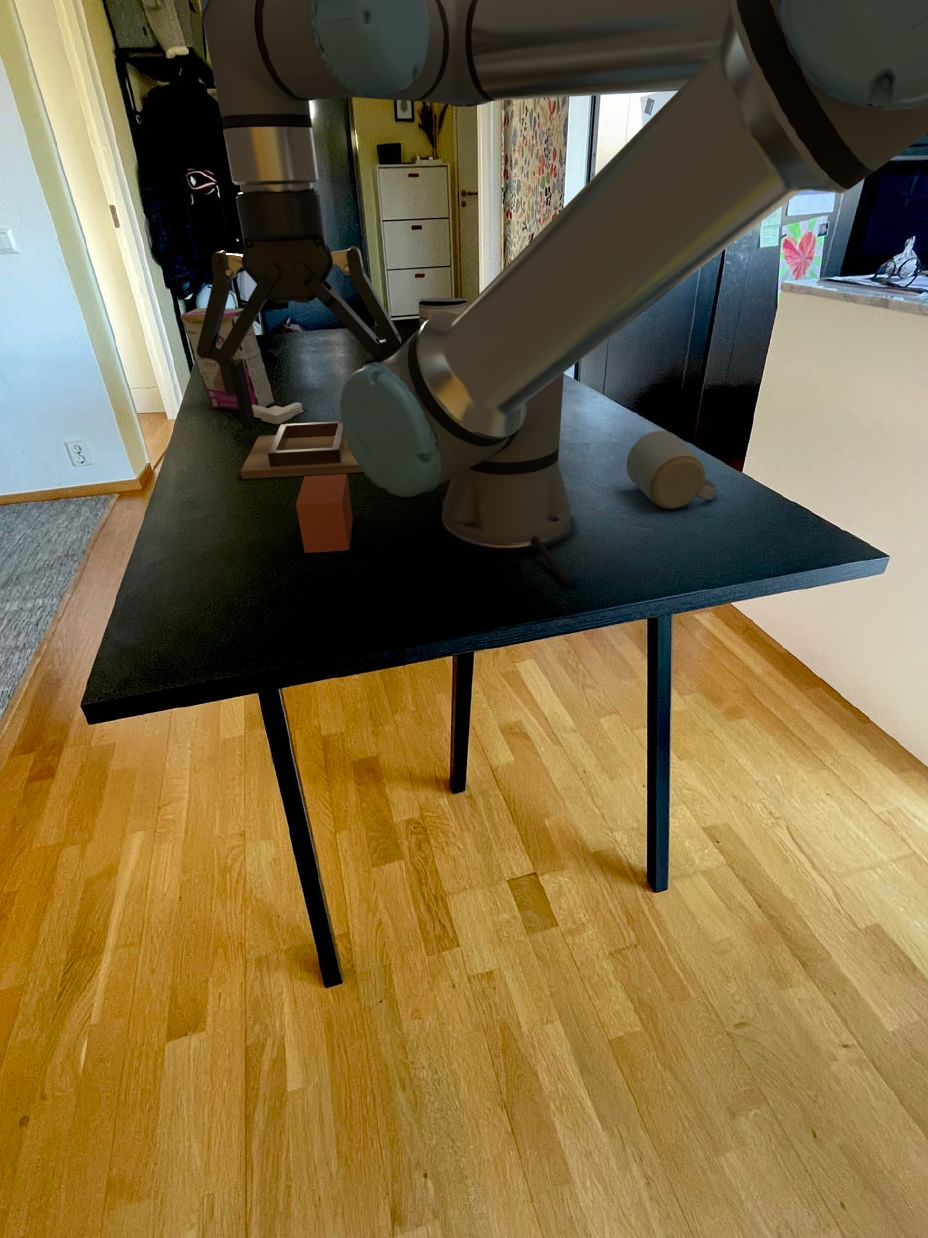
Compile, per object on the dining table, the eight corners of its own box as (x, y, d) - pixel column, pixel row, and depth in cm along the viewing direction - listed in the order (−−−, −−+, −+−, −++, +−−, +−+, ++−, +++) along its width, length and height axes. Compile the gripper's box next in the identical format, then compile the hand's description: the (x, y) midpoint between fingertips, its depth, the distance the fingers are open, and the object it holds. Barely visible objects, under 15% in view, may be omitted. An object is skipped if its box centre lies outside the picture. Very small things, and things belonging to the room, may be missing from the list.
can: (410, 355, 153) (406, 298, 147) (439, 345, 161) (437, 291, 154) (450, 361, 148) (448, 302, 141) (478, 350, 155) (477, 294, 149)
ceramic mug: (647, 515, 80) (657, 454, 76) (622, 489, 87) (629, 431, 83) (728, 507, 82) (742, 447, 78) (697, 482, 89) (708, 425, 84)
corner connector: (274, 403, 123) (273, 394, 122) (308, 412, 120) (307, 403, 119) (243, 415, 117) (241, 406, 116) (278, 424, 114) (277, 415, 113)
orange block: (349, 550, 75) (342, 501, 72) (304, 553, 75) (295, 504, 72) (353, 519, 82) (346, 473, 78) (312, 522, 82) (304, 476, 78)
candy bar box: (210, 409, 122) (178, 315, 112) (227, 399, 126) (197, 307, 115) (260, 412, 118) (231, 315, 108) (276, 402, 122) (249, 306, 112)
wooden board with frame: (369, 472, 95) (367, 450, 93) (242, 479, 94) (237, 457, 92) (372, 437, 107) (370, 417, 105) (260, 443, 106) (256, 423, 104)
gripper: (415, 183, 63) (427, 407, 75) (150, 190, 62) (204, 416, 74) (416, 185, 57) (428, 428, 69) (120, 193, 56) (185, 439, 68)
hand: (312, 422), depth 72 cm, fingers open, 13 cm apart
